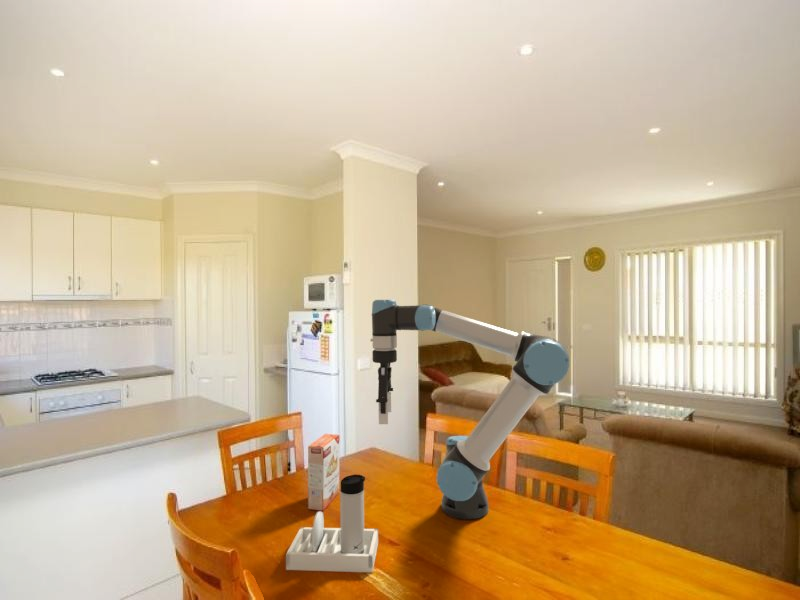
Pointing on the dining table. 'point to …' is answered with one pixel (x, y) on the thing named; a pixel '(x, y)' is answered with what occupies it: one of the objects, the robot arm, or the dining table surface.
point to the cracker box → (323, 471)
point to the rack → (329, 550)
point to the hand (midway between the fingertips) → (385, 417)
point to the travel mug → (352, 514)
